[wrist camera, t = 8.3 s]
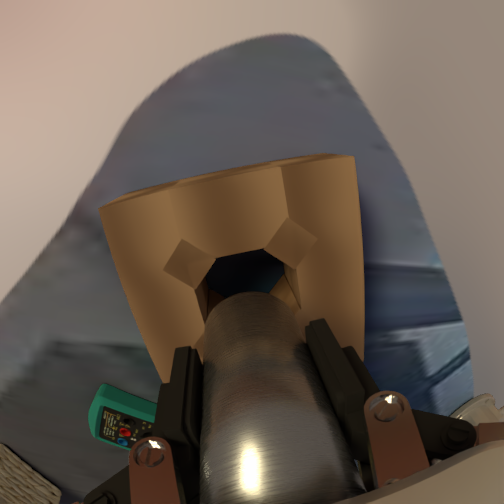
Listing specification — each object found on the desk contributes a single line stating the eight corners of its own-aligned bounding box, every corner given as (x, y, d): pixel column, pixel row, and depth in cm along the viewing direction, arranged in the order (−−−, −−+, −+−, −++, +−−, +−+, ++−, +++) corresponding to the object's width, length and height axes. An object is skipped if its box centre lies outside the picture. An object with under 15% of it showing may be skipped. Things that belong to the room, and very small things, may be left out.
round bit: (290, 282, 12) (385, 483, 4) (300, 357, 14) (363, 531, 5) (193, 302, 12) (172, 522, 4) (216, 374, 14) (225, 558, 5)
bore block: (323, 153, 19) (353, 156, 14) (339, 323, 23) (363, 361, 19) (126, 193, 19) (98, 208, 14) (178, 355, 23) (171, 400, 18)
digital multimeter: (98, 375, 24) (88, 397, 21) (247, 422, 27) (249, 445, 24) (92, 418, 26) (84, 438, 23) (221, 457, 29) (221, 477, 26)
